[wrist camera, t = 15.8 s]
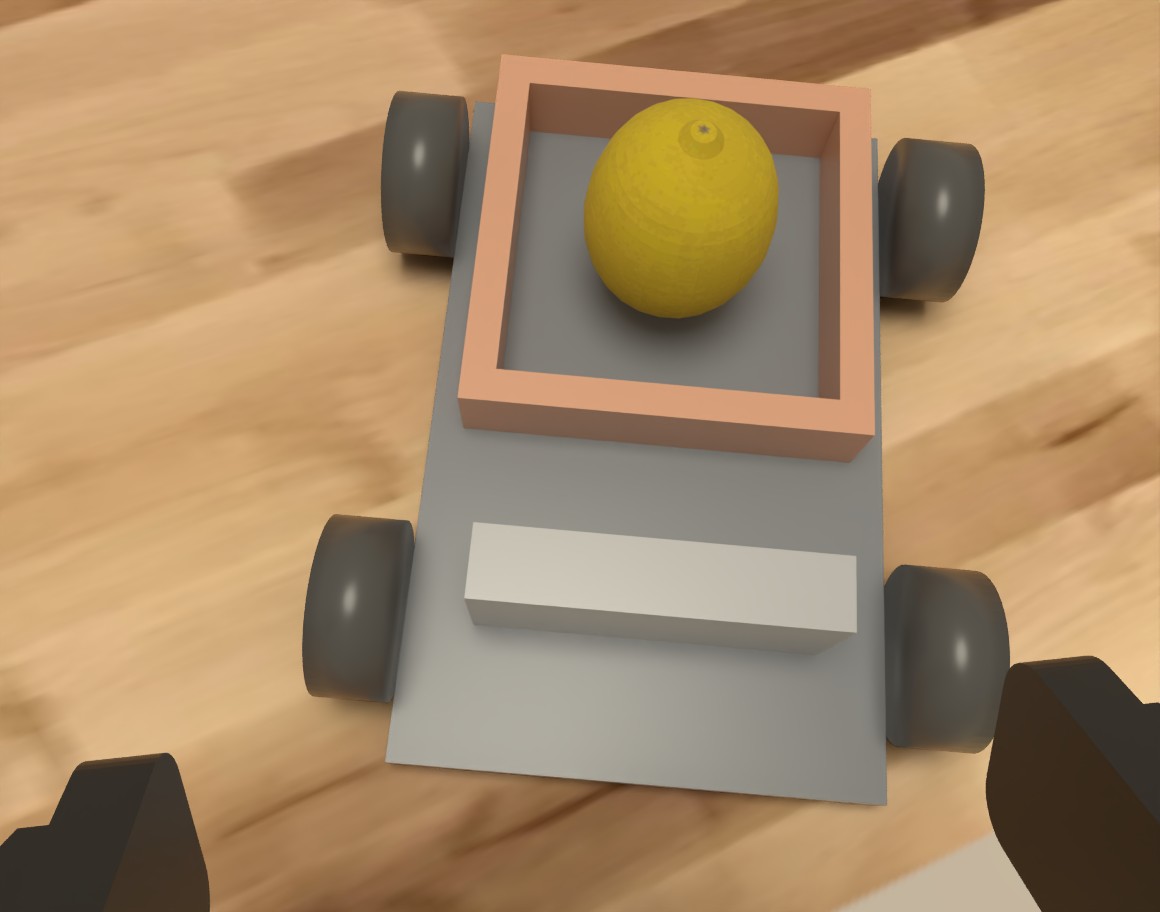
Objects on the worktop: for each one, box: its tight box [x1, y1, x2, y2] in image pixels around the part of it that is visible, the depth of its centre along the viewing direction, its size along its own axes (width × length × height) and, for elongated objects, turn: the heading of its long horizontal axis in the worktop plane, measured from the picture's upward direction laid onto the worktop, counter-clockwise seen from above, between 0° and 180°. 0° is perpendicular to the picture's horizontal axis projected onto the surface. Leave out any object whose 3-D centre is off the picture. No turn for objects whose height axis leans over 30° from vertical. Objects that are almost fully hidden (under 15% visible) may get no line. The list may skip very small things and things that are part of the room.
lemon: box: [584, 98, 779, 318], centre depth 30 cm, size 6×6×8 cm
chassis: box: [302, 54, 1010, 805], centre depth 31 cm, size 18×22×5 cm
